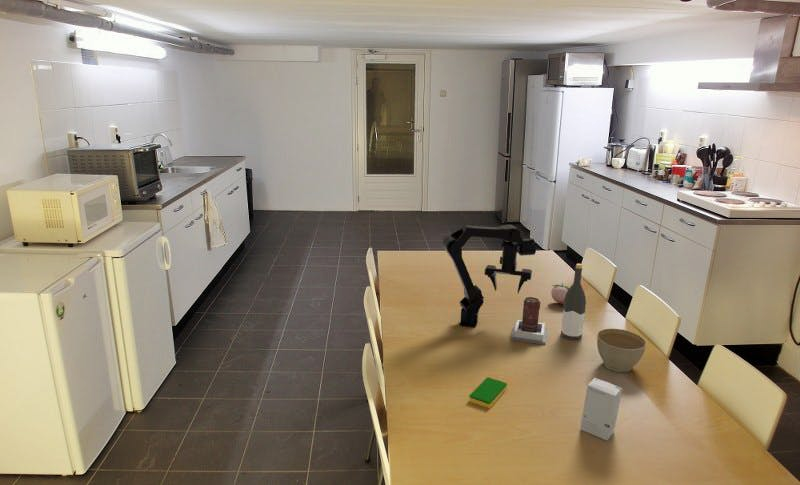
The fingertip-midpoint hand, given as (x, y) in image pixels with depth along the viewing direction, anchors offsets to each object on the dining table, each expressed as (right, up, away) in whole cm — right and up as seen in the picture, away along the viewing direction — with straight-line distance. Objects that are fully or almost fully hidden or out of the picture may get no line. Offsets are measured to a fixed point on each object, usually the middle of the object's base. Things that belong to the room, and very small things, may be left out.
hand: (506, 291), depth 223 cm
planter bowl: (+33, -24, -32) cm, 52 cm away
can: (+7, -15, -9) cm, 19 cm away
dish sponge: (-16, -29, -51) cm, 61 cm away
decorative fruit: (+29, -8, +21) cm, 36 cm away
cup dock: (+7, -16, -10) cm, 20 cm away
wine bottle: (+24, -17, -9) cm, 31 cm away
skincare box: (+13, -34, -69) cm, 78 cm away
